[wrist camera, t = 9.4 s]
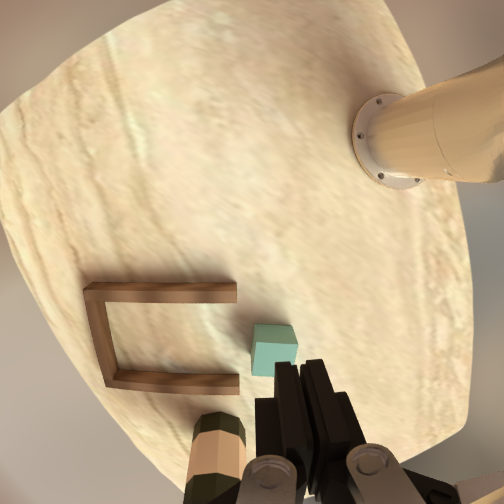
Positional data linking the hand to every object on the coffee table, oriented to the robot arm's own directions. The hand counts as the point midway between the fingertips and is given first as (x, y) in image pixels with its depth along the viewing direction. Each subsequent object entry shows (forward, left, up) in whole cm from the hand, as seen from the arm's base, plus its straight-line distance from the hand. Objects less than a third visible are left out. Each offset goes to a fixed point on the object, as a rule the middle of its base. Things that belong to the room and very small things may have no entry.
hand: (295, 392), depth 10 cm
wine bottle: (+6, +31, -28) cm, 43 cm away
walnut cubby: (+12, +13, -28) cm, 33 cm away
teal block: (-2, +14, -28) cm, 31 cm away
